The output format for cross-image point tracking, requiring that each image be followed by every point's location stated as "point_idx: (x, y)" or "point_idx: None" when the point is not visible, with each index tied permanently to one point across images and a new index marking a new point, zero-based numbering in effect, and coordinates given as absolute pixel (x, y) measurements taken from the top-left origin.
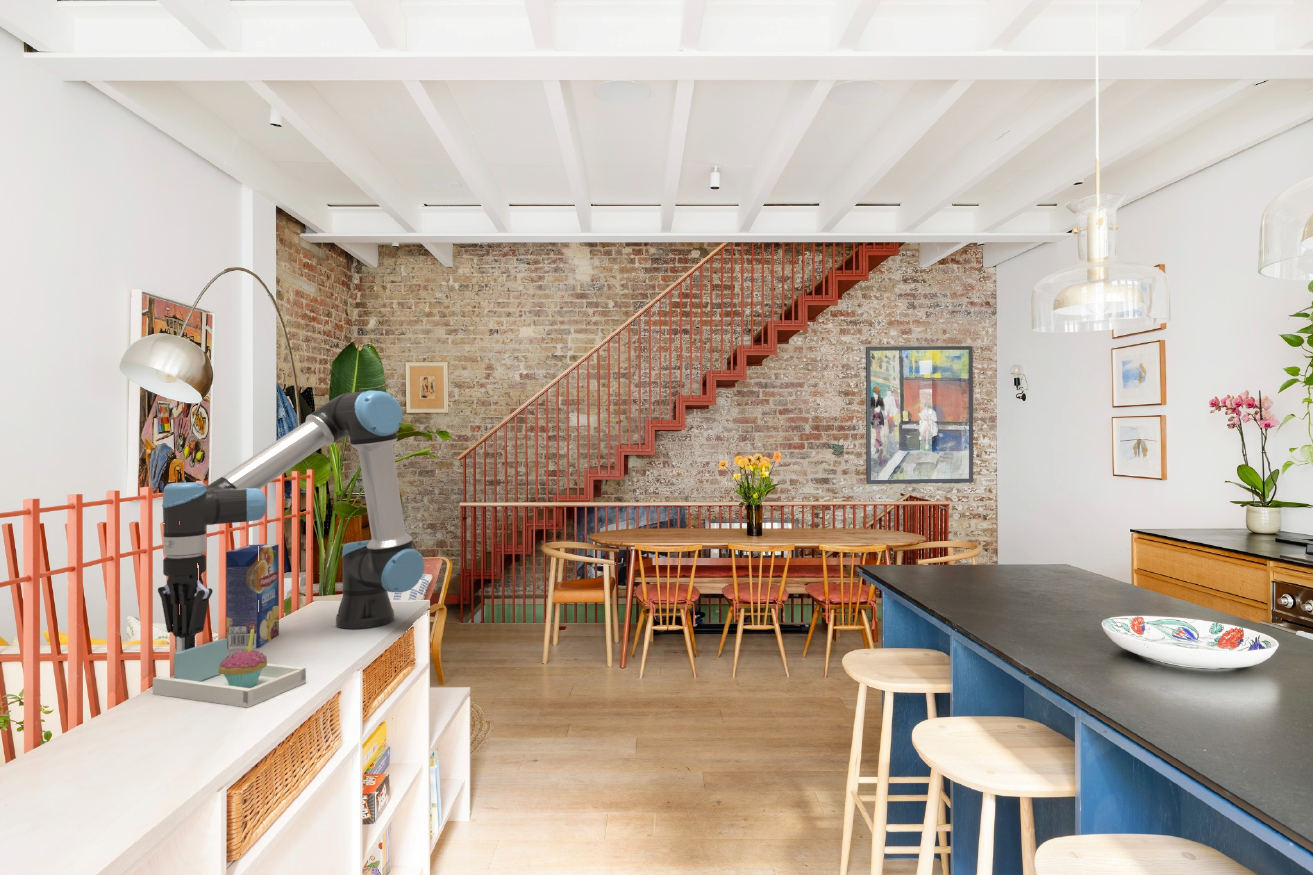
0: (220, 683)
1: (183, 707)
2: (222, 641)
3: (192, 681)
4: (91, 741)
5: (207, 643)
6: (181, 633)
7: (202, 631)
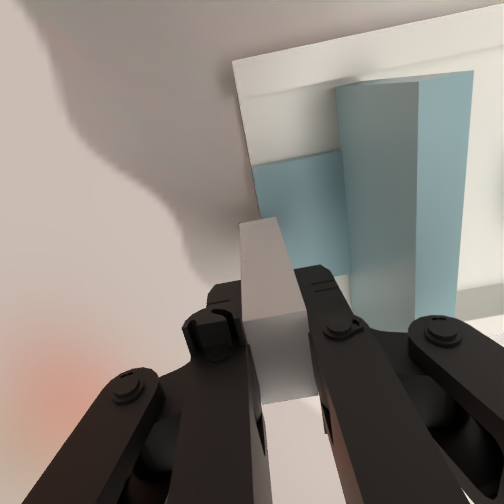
0: (468, 191)
1: (493, 338)
2: (464, 125)
3: (484, 323)
4: (463, 491)
5: (422, 238)
6: (256, 387)
7: (445, 316)
